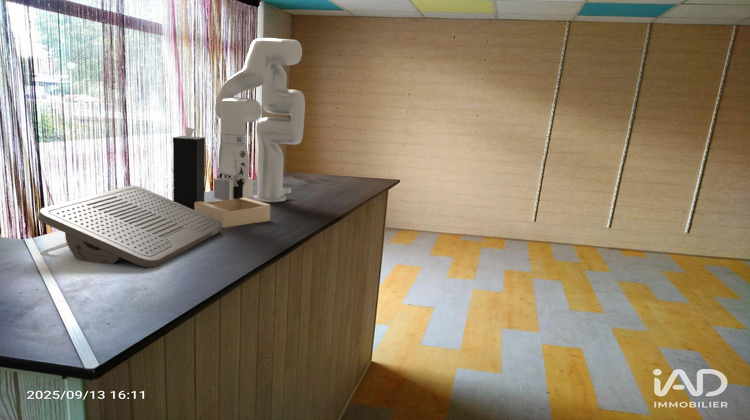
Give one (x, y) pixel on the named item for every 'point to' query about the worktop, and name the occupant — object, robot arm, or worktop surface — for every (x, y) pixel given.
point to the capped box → (231, 188)
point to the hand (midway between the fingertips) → (232, 196)
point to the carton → (235, 211)
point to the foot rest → (127, 227)
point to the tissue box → (188, 169)
